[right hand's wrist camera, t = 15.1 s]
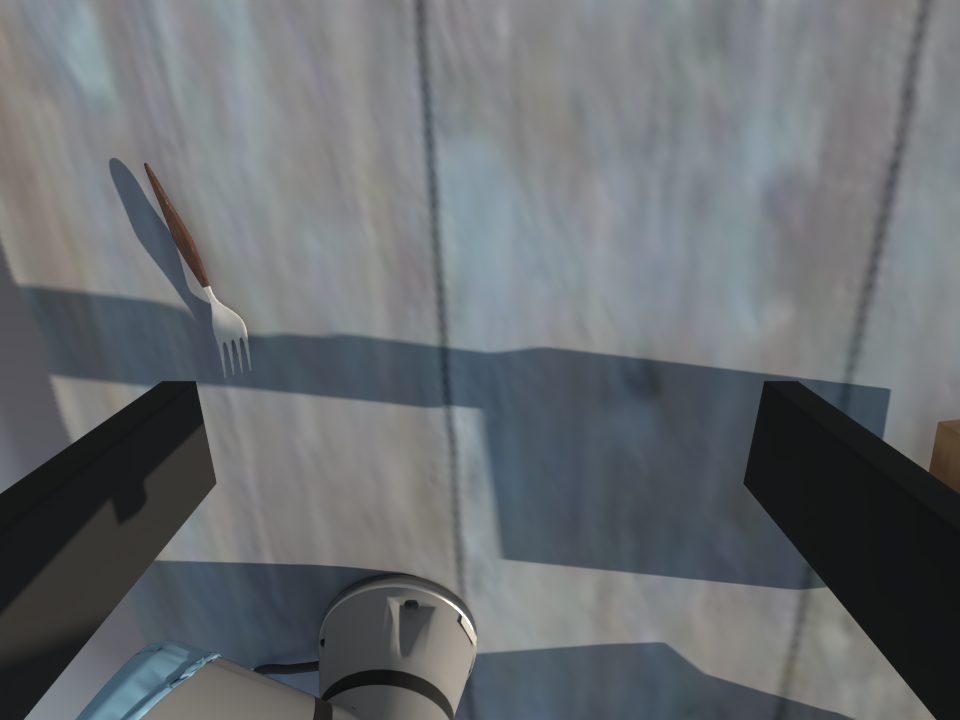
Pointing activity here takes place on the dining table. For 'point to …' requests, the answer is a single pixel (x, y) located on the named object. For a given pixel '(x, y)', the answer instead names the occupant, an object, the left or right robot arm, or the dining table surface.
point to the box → (947, 454)
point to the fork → (203, 282)
